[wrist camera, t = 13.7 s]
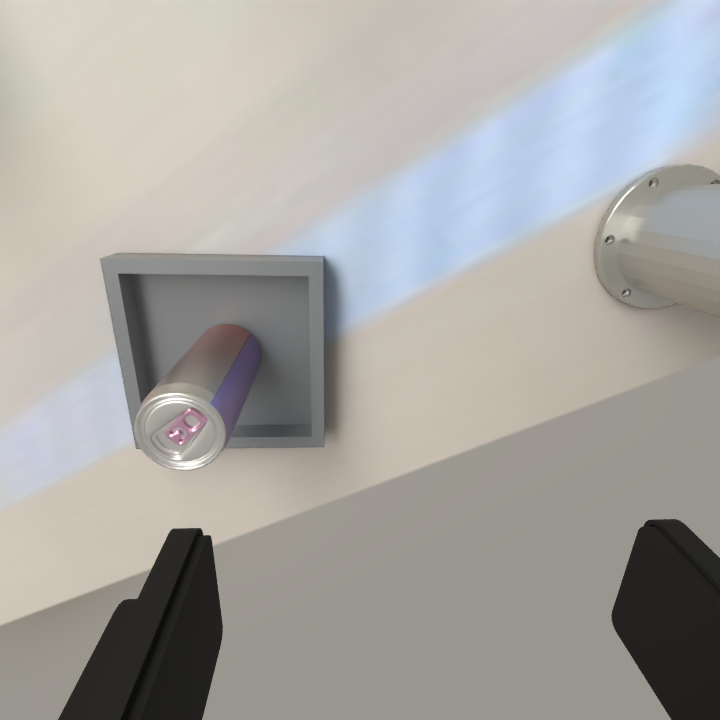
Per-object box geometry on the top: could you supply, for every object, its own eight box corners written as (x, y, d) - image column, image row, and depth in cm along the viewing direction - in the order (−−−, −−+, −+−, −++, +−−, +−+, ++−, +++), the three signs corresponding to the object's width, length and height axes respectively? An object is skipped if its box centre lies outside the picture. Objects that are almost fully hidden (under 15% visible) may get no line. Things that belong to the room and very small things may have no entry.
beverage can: (276, 352, 42) (247, 433, 28) (234, 392, 43) (187, 489, 29) (227, 308, 40) (171, 371, 26) (185, 351, 41) (110, 434, 27)
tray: (323, 256, 40) (322, 261, 37) (324, 430, 46) (324, 447, 43) (118, 252, 39) (100, 258, 36) (149, 431, 45) (136, 448, 42)
